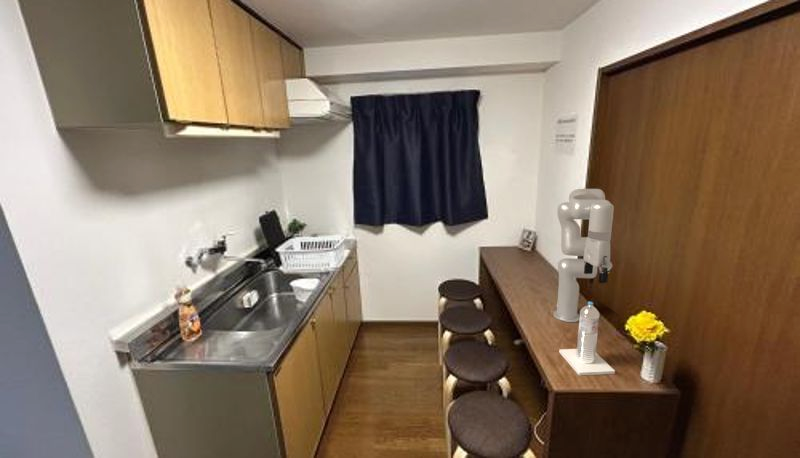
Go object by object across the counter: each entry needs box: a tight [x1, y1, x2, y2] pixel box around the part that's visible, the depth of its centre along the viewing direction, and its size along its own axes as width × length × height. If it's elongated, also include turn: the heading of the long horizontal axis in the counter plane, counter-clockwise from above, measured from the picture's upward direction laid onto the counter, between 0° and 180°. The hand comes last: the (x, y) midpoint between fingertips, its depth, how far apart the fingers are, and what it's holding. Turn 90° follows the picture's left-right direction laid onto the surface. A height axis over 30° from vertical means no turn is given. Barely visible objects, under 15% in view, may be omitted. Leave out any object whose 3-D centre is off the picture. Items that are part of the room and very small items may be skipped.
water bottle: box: [576, 301, 600, 363], centre depth 137 cm, size 7×7×25 cm
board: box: [558, 348, 616, 376], centre depth 139 cm, size 16×14×1 cm
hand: (595, 277), depth 133 cm, fingers open, 9 cm apart
